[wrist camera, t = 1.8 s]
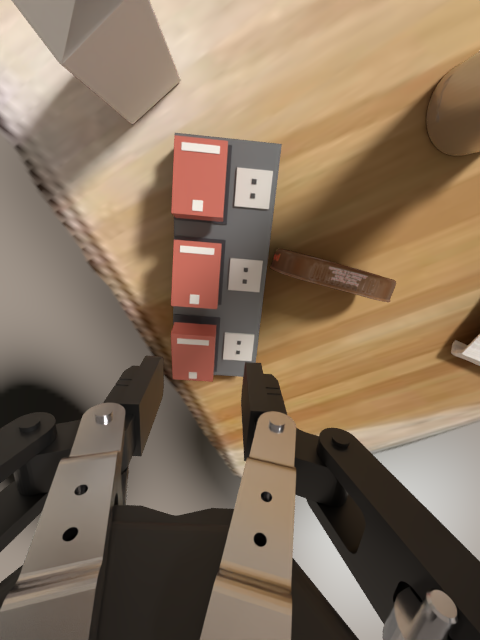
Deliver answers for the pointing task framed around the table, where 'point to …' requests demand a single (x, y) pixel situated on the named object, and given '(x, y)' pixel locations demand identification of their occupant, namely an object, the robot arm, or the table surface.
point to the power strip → (237, 252)
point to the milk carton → (108, 48)
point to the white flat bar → (467, 350)
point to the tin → (333, 275)
